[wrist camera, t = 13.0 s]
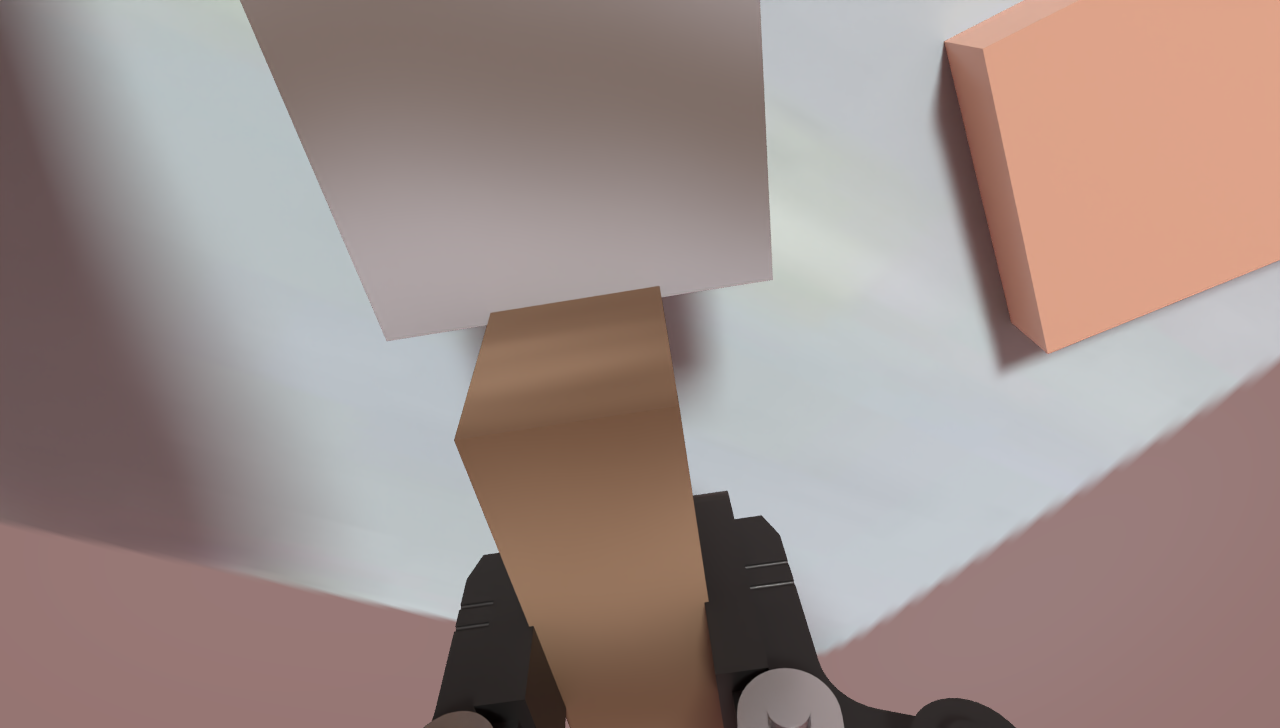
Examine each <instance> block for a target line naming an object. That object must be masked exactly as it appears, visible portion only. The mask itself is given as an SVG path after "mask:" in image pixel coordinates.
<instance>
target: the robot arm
mask: <svg viewBox="0 0 1280 728" xmlns="http://www.w3.org/2000/svg"><path fill="white" fill-rule="evenodd" d="M693 501H694V508H695V514H696V521H697V527H698V534H699V541H700V547H701V554H702V560H703V567H704V574H705V580H706V587H707V594H708V600H709V602H704V603H705V610H706V617H707V623H708V630H709V636H710V643H711V650H712V656H713V663H714V669H715V676H716V682H717V689H718V695H719V701H720V708H721V714H722V720H723V727H724V728H1015V727H1014V726H1013V725H1012V724H1011V723H1010V722H1009V721H1008V720H1006V719H1005V718H1004V717H1002V716H1001V715H1000V714H999V713H997V712H995V711H994V710H992V709H990V708H989V707H986V706H984V705H982V704H979V703H977V702H973V701H970V700H965V699H960V698H947V699H940V700H937V701H934V702H931V703H930V704H928V705H926V706H924V707H923V708H922V709H921V710H920V711H919V712H918V713H917V715H916V716H912V715H906V714H901V713H896V712H891V711H886V710H880V709H875V708H872V707H868V706H865V705H863V704H860V703H858V702H856V701H854V700H852V699H850V698H848V697H847V696H846V695H844V694H843V693H842V692H840V691H839V690H838V689H837V688H836V687H835V686H834V685H833V684H832V683H831V682H830V681H829V679H828V678H827V677H826V675H825V674H824V672H823V670H822V668H821V666H820V663H819V661H818V658H817V654H816V651H815V648H814V645H813V641H812V638H811V635H810V632H809V628H808V625H807V622H806V619H805V615H804V612H803V609H802V606H801V602H800V599H799V596H798V593H797V589H796V586H795V585H794V580H793V576H792V573H791V570H790V567H789V564H788V561H787V557H786V554H785V550H784V547H783V544H782V541H781V537H780V535H779V534H778V533H777V531H776V530H775V529H774V528H773V527H772V526H771V525H770V524H769V523H768V522H767V521H766V520H765V519H764V518H763V516H755V517H748V518H741V519H734V516H733V512H732V507H731V503H730V499H729V494H728V491H721V492H715V493H708V494H701V495H694V496H693ZM565 718H566V706H565V704H564V701H563V699H562V696H561V694H560V691H559V689H558V686H557V684H556V681H555V679H554V676H553V674H552V671H551V669H550V666H549V663H548V661H547V658H546V656H545V653H544V651H543V648H542V646H541V643H540V641H539V638H538V636H537V633H536V631H535V628H534V626H530V627H529V625H528V622H527V620H526V617H525V615H524V612H523V610H522V607H521V605H520V602H519V600H518V597H517V595H516V592H515V590H514V587H513V585H512V582H511V580H510V578H509V575H508V573H507V570H506V568H505V565H504V563H503V560H502V558H501V555H500V553H495V554H488V555H483V557H482V558H481V560H480V561H479V562H478V564H477V565H476V567H475V568H474V570H473V571H472V573H471V574H470V575H469V577H468V578H467V581H466V585H465V589H464V593H463V597H462V602H461V610H459V614H458V618H457V622H456V632H454V635H453V639H452V643H451V647H450V651H449V656H448V660H447V664H446V668H445V672H444V676H443V680H442V685H441V689H440V693H439V697H438V701H437V706H436V710H435V713H434V716H433V719H432V722H430V723H429V724H427V725H426V726H425V727H424V728H565V720H566V719H565Z"/></svg>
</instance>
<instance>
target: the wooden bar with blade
mask: <svg viewBox="0 0 1280 728" xmlns="http://www.w3.org/2000/svg"><path fill="white" fill-rule="evenodd" d="M240 1H241V4H242V6H243V8H244V11H245V13H246V15H247V18H248V20H249V22H250V24H251V27H252V29H253V31H254V34H255V36H256V38H257V41H258V43H259V45H260V48H261V50H262V52H263V55H264V57H265V59H266V62H267V64H268V66H269V69H270V71H271V73H272V76H273V78H274V80H275V83H276V85H277V87H278V90H279V92H280V94H281V96H282V99H283V101H284V103H285V106H286V108H287V110H288V113H289V115H290V117H291V120H292V122H293V124H294V127H295V129H296V131H297V134H298V136H299V138H300V141H301V143H302V145H303V148H304V150H305V152H306V155H307V157H308V159H309V162H310V164H311V166H312V169H313V171H314V173H315V175H316V178H317V180H318V182H319V185H320V187H321V189H322V192H323V194H324V196H325V199H326V201H327V203H328V206H329V208H330V210H331V213H332V215H333V217H334V220H335V222H336V224H337V227H338V229H339V231H340V234H341V236H342V238H343V241H344V243H345V245H346V248H347V250H348V252H349V254H350V257H351V259H352V261H353V264H354V266H355V268H356V271H357V273H358V275H359V278H360V280H361V282H362V285H363V287H364V289H365V292H366V294H367V296H368V299H369V301H370V303H371V306H372V308H373V310H374V313H375V315H376V317H377V320H378V322H379V324H380V327H381V329H382V331H383V333H384V336H385V338H386V340H387V341H391V340H397V339H403V338H410V337H416V336H422V335H429V334H435V333H441V332H447V331H454V330H460V329H466V328H473V327H479V326H485V325H487V327H486V331H485V334H484V338H483V341H482V345H481V348H480V352H479V355H478V359H477V362H476V366H475V369H474V372H473V376H472V379H471V383H470V386H469V390H468V393H467V397H466V400H465V404H464V407H463V411H462V414H461V418H460V421H459V425H458V428H457V432H456V435H455V439H454V441H455V444H456V446H457V449H458V451H459V454H460V456H461V459H462V461H463V463H464V466H465V468H466V471H467V473H468V476H469V478H470V481H471V483H472V486H473V488H474V491H475V493H476V496H477V498H478V501H479V503H480V506H481V508H482V511H483V513H484V516H485V518H486V521H487V523H488V525H489V528H490V530H491V533H492V535H493V538H494V540H495V543H496V545H497V548H498V550H499V553H500V555H501V558H502V560H503V563H504V565H505V568H506V570H507V573H508V575H509V578H510V580H511V582H512V585H513V587H514V590H515V592H516V595H517V597H518V600H519V602H520V605H521V607H522V610H523V612H524V615H525V617H526V620H527V622H528V625H529V627H530V626H534V628H535V631H536V633H537V636H538V638H539V641H540V643H541V646H542V648H543V651H544V653H545V656H546V658H547V661H548V663H549V666H550V669H551V671H552V674H553V676H554V679H555V681H556V684H557V686H558V689H559V691H560V694H561V696H562V699H563V701H564V704H565V706H566V719H567V721H568V724H569V726H570V728H724V727H723V720H722V714H721V708H720V701H719V695H718V689H717V682H716V676H715V669H714V663H713V656H712V650H711V643H710V636H709V630H708V623H707V617H706V610H705V603H704V602H709V600H708V594H707V587H706V580H705V574H704V567H703V560H702V554H701V547H700V541H699V534H698V527H697V521H696V514H695V508H694V501H693V494H692V488H691V481H690V474H689V468H688V461H687V455H686V448H685V441H684V435H683V428H682V422H681V415H680V408H679V402H678V396H677V390H676V384H675V377H674V371H673V365H672V359H671V353H670V347H669V341H668V334H667V328H666V322H665V316H664V310H663V304H662V298H661V297H667V296H673V295H680V294H686V293H692V292H699V291H705V290H711V289H717V288H724V287H730V286H736V285H743V284H749V283H755V282H761V281H768V280H773V275H772V253H771V232H770V210H769V189H768V167H767V145H766V124H765V102H764V80H763V59H762V37H761V15H760V0H240Z"/></svg>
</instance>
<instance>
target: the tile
mask: <svg viewBox="0 0 1280 728" xmlns="http://www.w3.org/2000/svg"><path fill="white" fill-rule="evenodd" d="M944 43H945V48H946V52H947V56H948V60H949V64H950V69H951V73H952V77H953V81H954V85H955V89H956V94H957V98H958V102H959V106H960V110H961V115H962V119H963V123H964V127H965V131H966V135H967V140H968V144H969V148H970V152H971V156H972V161H973V165H974V169H975V173H976V177H977V181H978V186H979V190H980V194H981V198H982V202H983V207H984V211H985V215H986V219H987V223H988V227H989V232H990V236H991V240H992V244H993V248H994V253H995V257H996V261H997V265H998V269H999V273H1000V278H1001V282H1002V286H1003V290H1004V294H1005V299H1006V303H1007V307H1008V311H1009V315H1010V319H1011V323H1012V324H1013V325H1015V326H1016V327H1017V328H1018V329H1019V330H1020V331H1022V332H1023V333H1024V334H1025V335H1026V336H1027V337H1029V338H1030V339H1031V340H1032V341H1033V342H1034V343H1036V344H1037V345H1038V346H1039V347H1040V348H1041V349H1043V350H1044V351H1045V352H1046V353H1047V354H1049V353H1052V352H1054V351H1057V350H1059V349H1061V348H1064V347H1066V346H1069V345H1071V344H1074V343H1076V342H1079V341H1081V340H1084V339H1086V338H1089V337H1091V336H1094V335H1096V334H1098V333H1101V332H1103V331H1106V330H1108V329H1111V328H1113V327H1116V326H1118V325H1121V324H1123V323H1126V322H1128V321H1130V320H1133V319H1135V318H1138V317H1140V316H1143V315H1145V314H1148V313H1150V312H1153V311H1155V310H1158V309H1160V308H1163V307H1165V306H1167V305H1170V304H1172V303H1175V302H1177V301H1180V300H1182V299H1185V298H1187V297H1190V296H1192V295H1195V294H1197V293H1199V292H1202V291H1204V290H1207V289H1209V288H1212V287H1214V286H1217V285H1219V284H1222V283H1224V282H1227V281H1229V280H1232V279H1234V278H1236V277H1239V276H1241V275H1244V274H1246V273H1249V272H1251V271H1254V270H1256V269H1259V268H1261V267H1264V266H1266V265H1268V264H1271V263H1273V262H1276V261H1278V260H1280V0H1024V1H1022V2H1020V3H1018V4H1016V5H1014V6H1012V7H1010V8H1008V9H1006V10H1004V11H1002V12H1000V13H998V14H996V15H994V16H993V17H991V18H989V19H987V20H985V21H983V22H981V23H979V24H977V25H975V26H973V27H971V28H969V29H967V30H965V31H963V32H961V33H959V34H958V35H956V36H954V37H952V38H950V39H948V40H946V41H944Z"/></svg>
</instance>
